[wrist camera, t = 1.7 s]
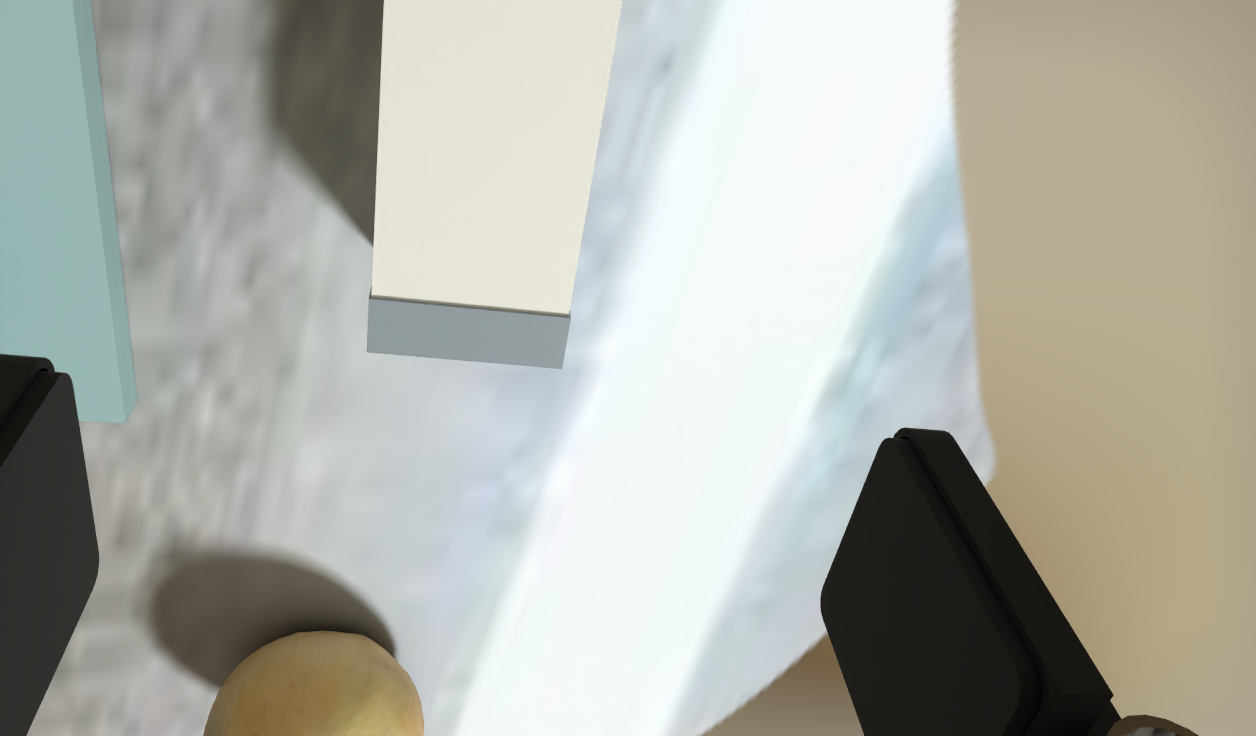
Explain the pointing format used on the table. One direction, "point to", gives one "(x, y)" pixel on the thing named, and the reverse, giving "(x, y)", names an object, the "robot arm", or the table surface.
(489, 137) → the white pillar block
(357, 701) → the onion
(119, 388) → the cradle
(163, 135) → the table surface
